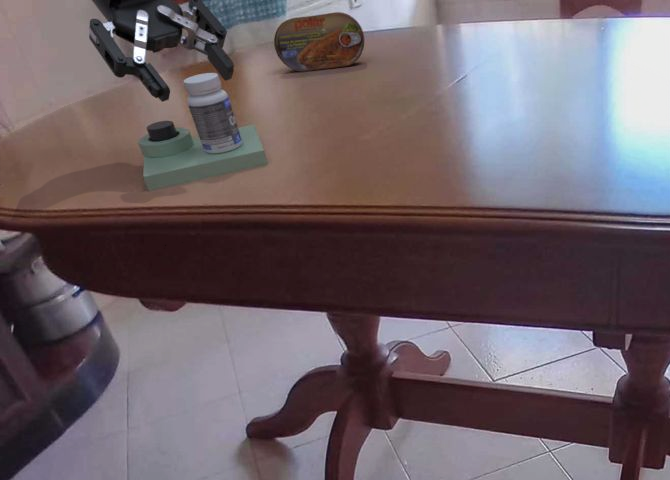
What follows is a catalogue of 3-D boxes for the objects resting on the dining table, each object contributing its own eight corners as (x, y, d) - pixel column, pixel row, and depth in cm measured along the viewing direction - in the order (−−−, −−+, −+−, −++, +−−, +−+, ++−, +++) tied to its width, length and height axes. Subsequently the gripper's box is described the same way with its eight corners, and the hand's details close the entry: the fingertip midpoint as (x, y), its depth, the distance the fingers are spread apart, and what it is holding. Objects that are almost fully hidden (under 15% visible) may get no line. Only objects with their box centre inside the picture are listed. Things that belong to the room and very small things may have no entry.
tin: (281, 74, 120) (267, 21, 115) (284, 69, 122) (271, 17, 117) (368, 64, 119) (358, 11, 114) (370, 59, 122) (360, 7, 117)
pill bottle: (247, 147, 86) (225, 76, 81) (208, 157, 84) (183, 86, 79) (238, 137, 89) (216, 68, 84) (200, 147, 87) (176, 77, 82)
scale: (148, 192, 82) (136, 163, 80) (149, 160, 91) (138, 134, 89) (268, 164, 85) (260, 136, 83) (257, 137, 94) (250, 111, 92)
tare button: (151, 145, 86) (146, 131, 85) (151, 137, 88) (146, 124, 87) (178, 139, 87) (173, 125, 86) (177, 132, 89) (172, 118, 88)
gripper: (164, -14, 89) (243, 89, 89) (51, 11, 80) (140, 124, 81) (171, -62, 83) (256, 48, 83) (50, -42, 74) (146, 81, 75)
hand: (199, 85), depth 82 cm, fingers open, 8 cm apart
